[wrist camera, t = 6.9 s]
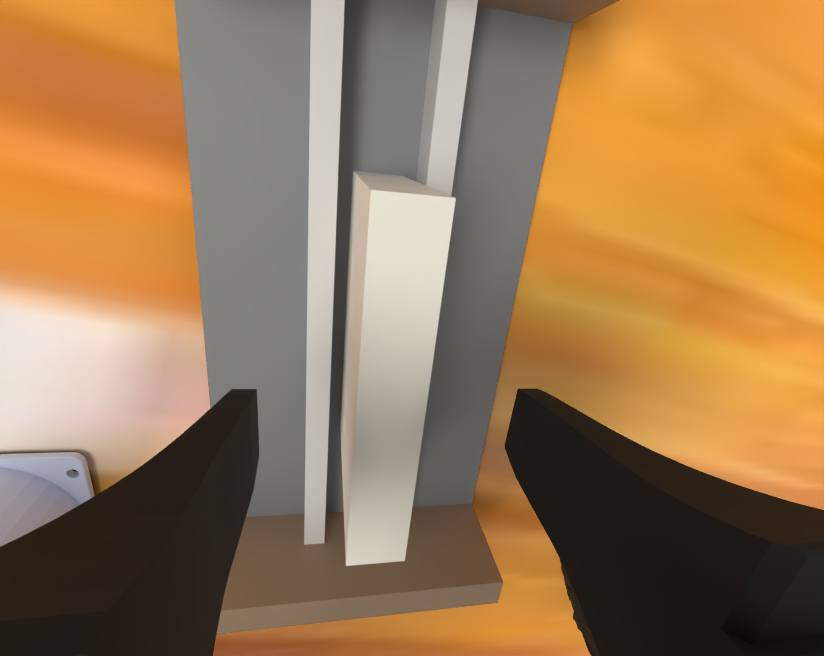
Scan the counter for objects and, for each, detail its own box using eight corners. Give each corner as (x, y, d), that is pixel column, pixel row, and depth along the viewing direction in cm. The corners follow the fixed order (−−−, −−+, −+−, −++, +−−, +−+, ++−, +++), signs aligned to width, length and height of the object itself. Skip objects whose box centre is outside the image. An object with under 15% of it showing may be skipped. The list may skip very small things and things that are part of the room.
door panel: (379, 422, 22) (404, 560, 14) (340, 422, 21) (345, 565, 14) (402, 175, 17) (455, 198, 10) (352, 170, 17) (370, 189, 9)
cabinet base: (463, 509, 27) (497, 602, 21) (226, 524, 24) (195, 636, 18) (568, -16, 16) (687, -96, 11) (174, -101, 14) (72, -266, 8)
